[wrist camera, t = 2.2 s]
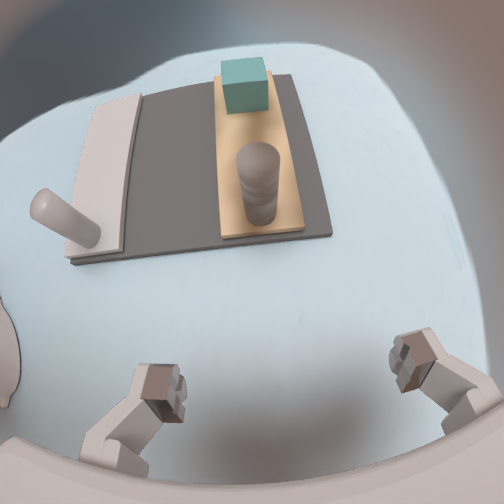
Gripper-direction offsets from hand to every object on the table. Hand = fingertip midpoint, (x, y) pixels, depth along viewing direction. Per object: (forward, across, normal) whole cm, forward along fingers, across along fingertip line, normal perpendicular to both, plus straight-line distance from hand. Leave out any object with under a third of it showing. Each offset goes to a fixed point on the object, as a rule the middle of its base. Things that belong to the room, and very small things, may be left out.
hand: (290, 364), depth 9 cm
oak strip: (+27, 0, -5) cm, 27 cm away
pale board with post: (+27, +19, -5) cm, 33 cm away
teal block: (+30, 0, -10) cm, 32 cm away
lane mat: (+28, +8, -4) cm, 29 cm away
